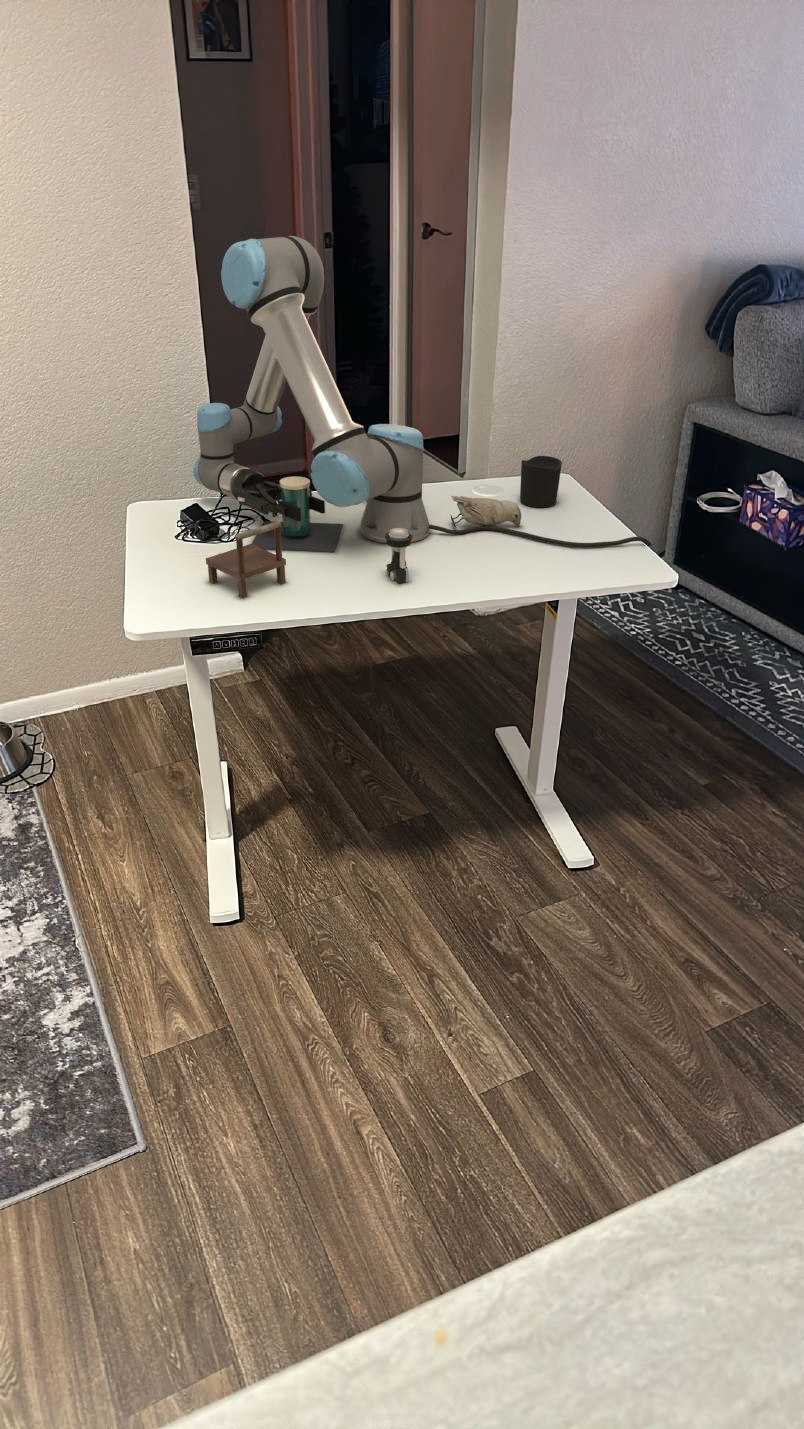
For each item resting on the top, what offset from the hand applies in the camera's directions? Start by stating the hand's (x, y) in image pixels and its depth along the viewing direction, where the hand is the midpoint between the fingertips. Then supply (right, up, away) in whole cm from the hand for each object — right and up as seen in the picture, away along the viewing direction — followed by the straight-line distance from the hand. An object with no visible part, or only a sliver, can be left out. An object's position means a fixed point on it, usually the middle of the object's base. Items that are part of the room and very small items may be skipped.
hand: (311, 511), depth 201 cm
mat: (-4, -4, +7) cm, 9 cm away
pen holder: (+52, +8, +28) cm, 60 cm away
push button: (+18, -16, -11) cm, 27 cm away
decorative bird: (+38, -1, +14) cm, 40 cm away
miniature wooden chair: (-11, -17, -14) cm, 25 cm away
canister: (-4, -3, +6) cm, 8 cm away
